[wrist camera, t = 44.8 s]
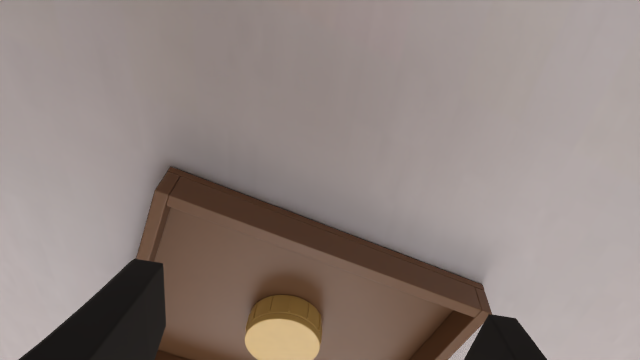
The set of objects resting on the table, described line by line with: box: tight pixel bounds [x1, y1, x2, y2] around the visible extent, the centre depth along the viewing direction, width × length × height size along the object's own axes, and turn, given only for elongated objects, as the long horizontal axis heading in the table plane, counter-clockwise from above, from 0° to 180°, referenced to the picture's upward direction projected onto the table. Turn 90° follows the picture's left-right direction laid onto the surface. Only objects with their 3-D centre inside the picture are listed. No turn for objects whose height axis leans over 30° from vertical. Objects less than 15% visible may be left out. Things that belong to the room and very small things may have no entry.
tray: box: [136, 167, 492, 360], centre depth 24 cm, size 16×13×2 cm
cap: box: [245, 295, 322, 360], centre depth 24 cm, size 4×4×2 cm
